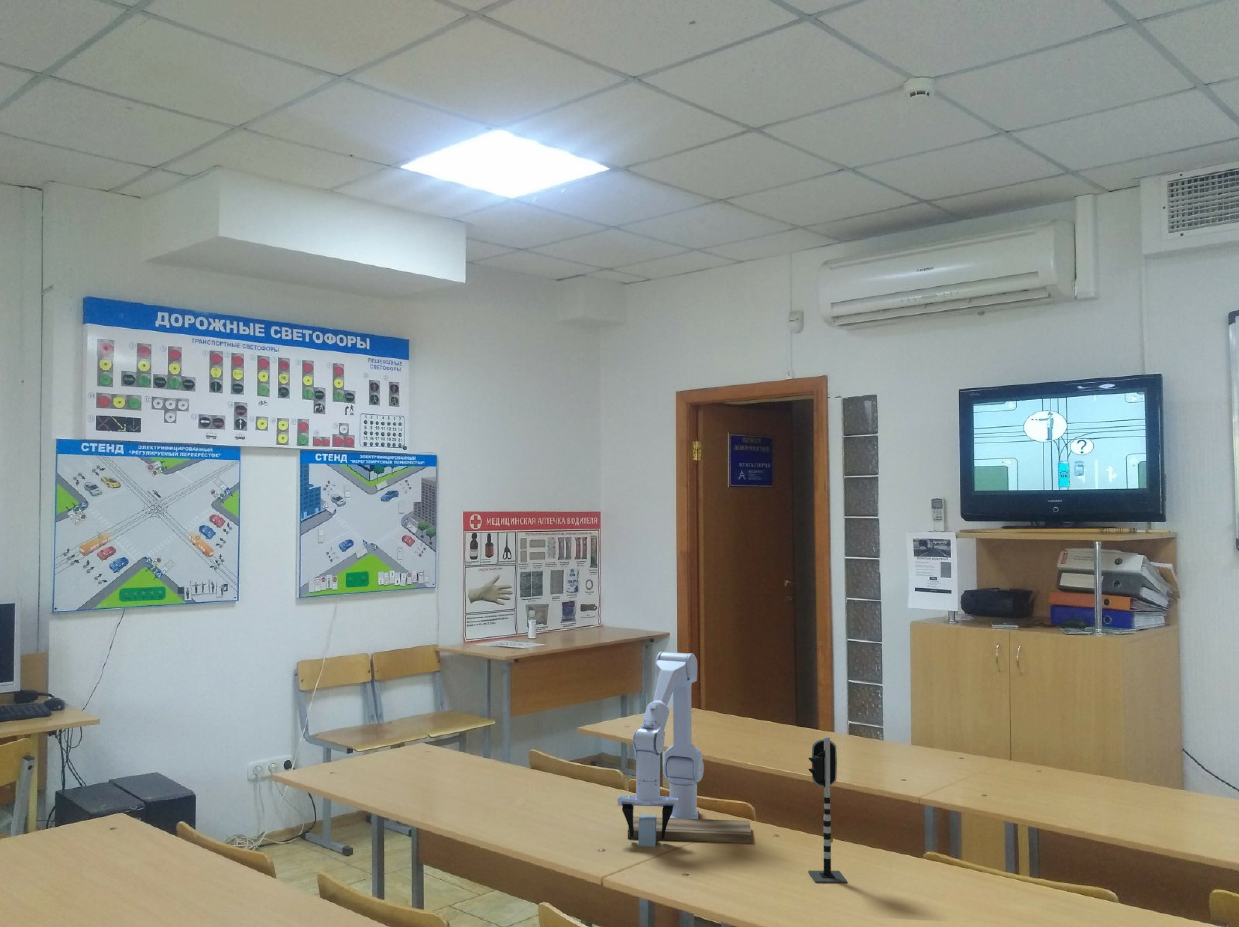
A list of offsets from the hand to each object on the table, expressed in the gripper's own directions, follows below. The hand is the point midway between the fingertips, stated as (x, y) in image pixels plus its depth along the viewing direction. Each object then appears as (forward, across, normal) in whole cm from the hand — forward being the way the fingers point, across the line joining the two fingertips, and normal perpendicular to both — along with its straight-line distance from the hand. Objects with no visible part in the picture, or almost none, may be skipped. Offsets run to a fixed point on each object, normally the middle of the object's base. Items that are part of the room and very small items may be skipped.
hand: (647, 836), depth 241 cm
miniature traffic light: (+2, +40, -20) cm, 45 cm away
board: (+1, +10, +9) cm, 14 cm away
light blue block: (+2, 0, +1) cm, 2 cm away
